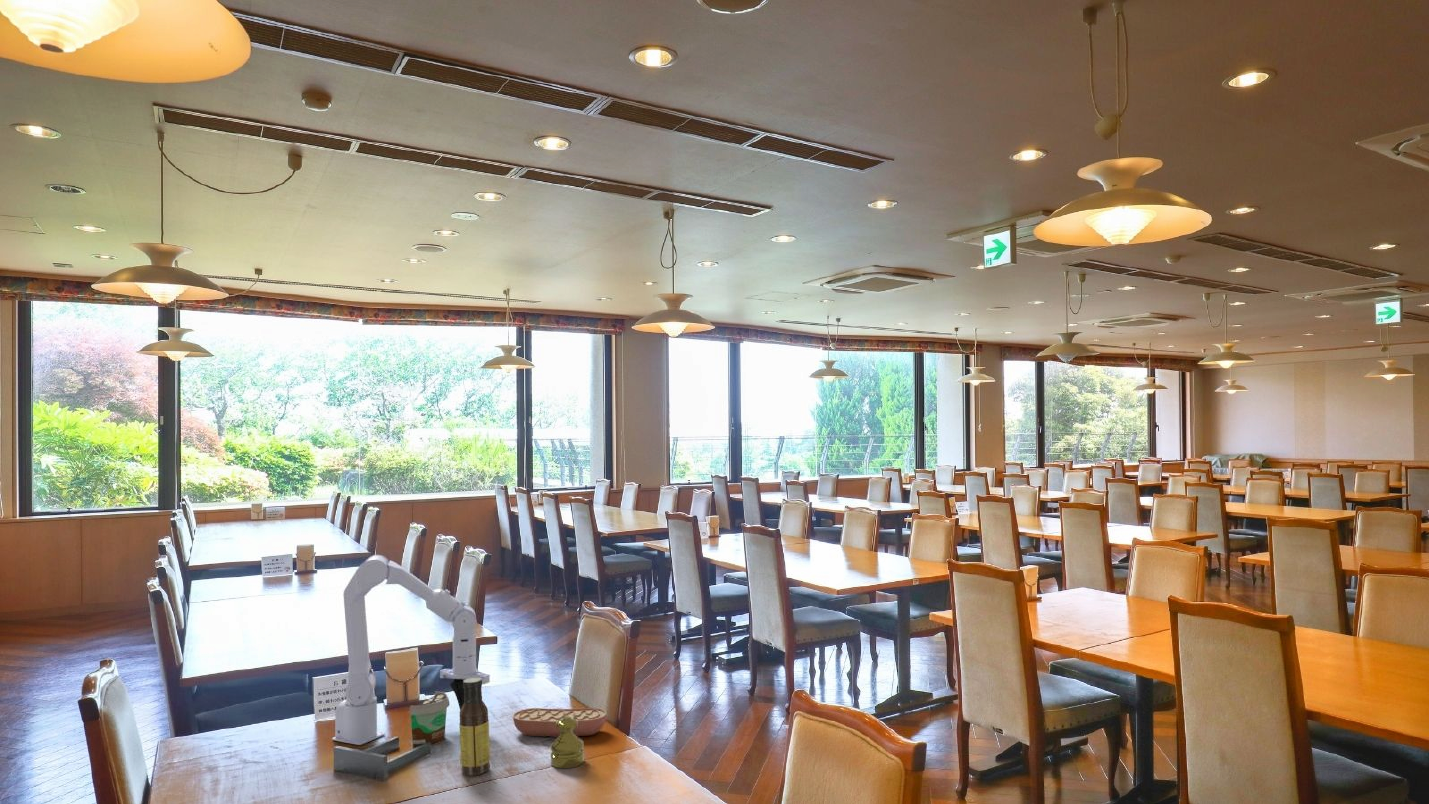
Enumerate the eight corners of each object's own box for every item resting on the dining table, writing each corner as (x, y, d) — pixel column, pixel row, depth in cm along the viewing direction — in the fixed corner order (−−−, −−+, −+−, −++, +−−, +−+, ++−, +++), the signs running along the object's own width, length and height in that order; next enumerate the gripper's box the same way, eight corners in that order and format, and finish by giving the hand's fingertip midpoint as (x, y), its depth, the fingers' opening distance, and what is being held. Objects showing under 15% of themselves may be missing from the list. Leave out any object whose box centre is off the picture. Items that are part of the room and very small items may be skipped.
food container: (433, 750, 199) (432, 707, 200) (409, 749, 200) (409, 706, 201) (459, 732, 211) (458, 691, 212) (436, 731, 213) (436, 690, 213)
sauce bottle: (490, 764, 190) (490, 674, 191) (489, 775, 184) (488, 682, 185) (460, 767, 189) (460, 676, 190) (458, 778, 183) (458, 684, 184)
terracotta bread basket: (609, 728, 213) (609, 708, 213) (602, 742, 203) (601, 721, 204) (519, 728, 214) (519, 708, 215) (507, 742, 204) (507, 721, 205)
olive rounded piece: (589, 758, 193) (589, 713, 193) (574, 771, 186) (573, 724, 186) (561, 755, 195) (560, 711, 196) (544, 767, 188) (543, 721, 189)
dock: (333, 770, 188) (333, 747, 188) (389, 745, 203) (389, 724, 203) (383, 781, 182) (383, 757, 182) (437, 755, 196) (437, 733, 197)
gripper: (497, 653, 217) (497, 708, 216) (453, 648, 223) (453, 701, 222) (478, 660, 210) (479, 716, 210) (433, 655, 216) (434, 709, 216)
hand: (464, 709), depth 215 cm, fingers closed
